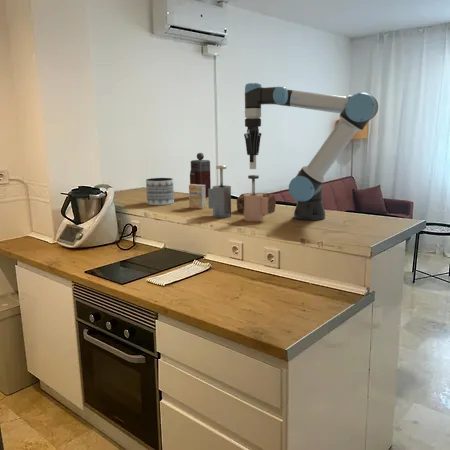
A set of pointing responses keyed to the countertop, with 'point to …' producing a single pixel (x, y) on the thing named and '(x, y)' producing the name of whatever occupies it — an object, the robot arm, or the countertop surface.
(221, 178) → the steel plunger
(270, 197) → the bread
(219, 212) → the faceted cylinder
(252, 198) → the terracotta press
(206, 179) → the dark red french press
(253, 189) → the glossy charcoal round knob
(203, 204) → the supplement box
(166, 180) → the planter
